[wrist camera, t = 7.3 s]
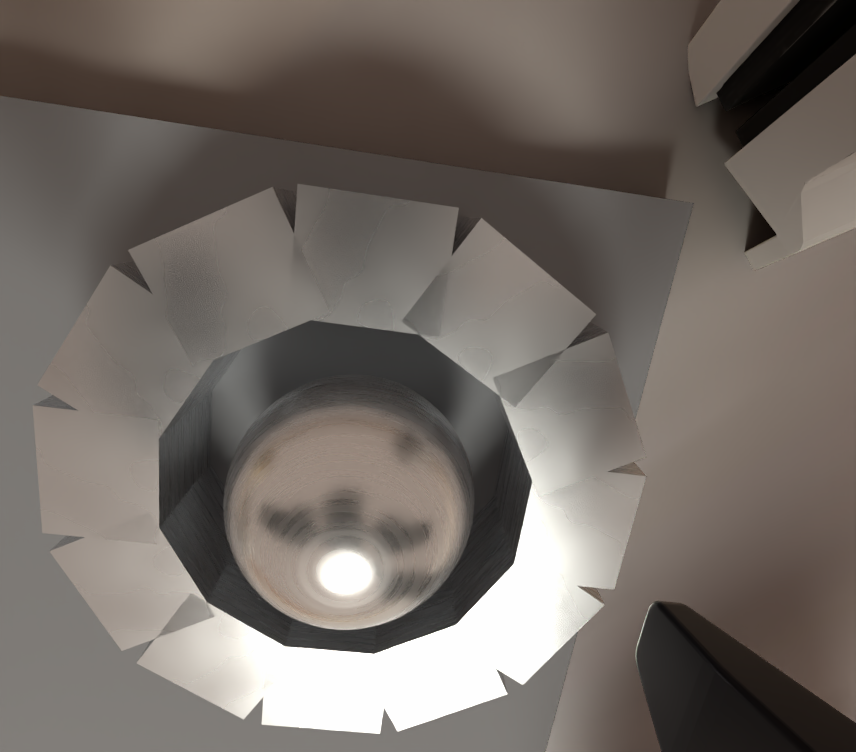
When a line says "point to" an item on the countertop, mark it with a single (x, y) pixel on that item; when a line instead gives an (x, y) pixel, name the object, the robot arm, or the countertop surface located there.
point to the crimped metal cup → (203, 492)
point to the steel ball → (348, 502)
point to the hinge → (787, 112)
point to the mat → (257, 392)
